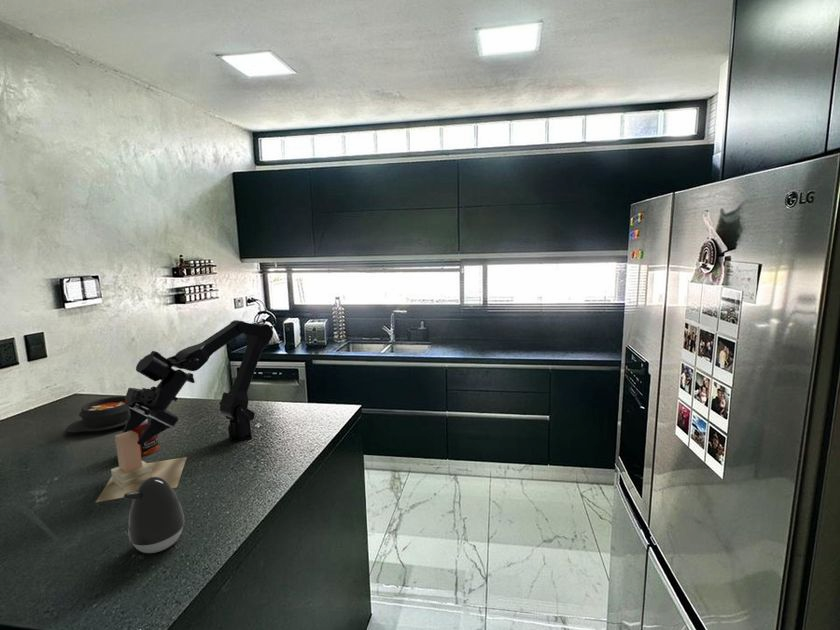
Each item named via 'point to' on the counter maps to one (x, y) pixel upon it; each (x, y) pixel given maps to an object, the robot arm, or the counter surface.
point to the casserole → (101, 415)
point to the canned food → (152, 443)
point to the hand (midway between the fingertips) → (130, 440)
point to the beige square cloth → (162, 469)
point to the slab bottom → (132, 481)
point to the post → (128, 451)
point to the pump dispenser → (154, 516)
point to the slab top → (131, 472)
